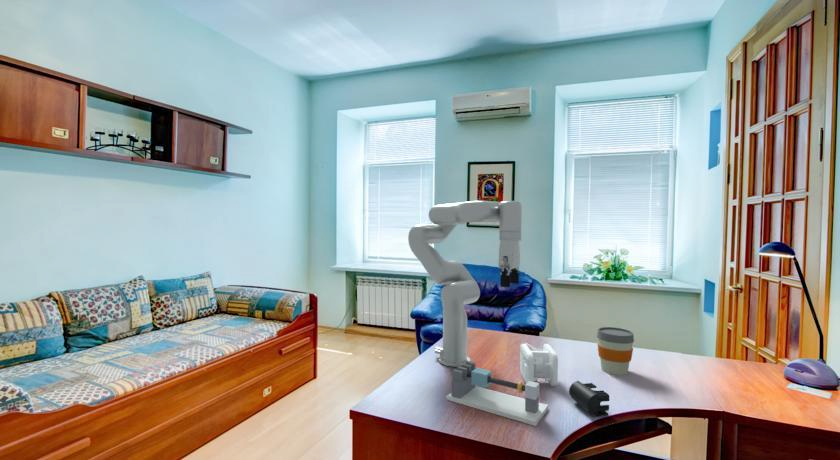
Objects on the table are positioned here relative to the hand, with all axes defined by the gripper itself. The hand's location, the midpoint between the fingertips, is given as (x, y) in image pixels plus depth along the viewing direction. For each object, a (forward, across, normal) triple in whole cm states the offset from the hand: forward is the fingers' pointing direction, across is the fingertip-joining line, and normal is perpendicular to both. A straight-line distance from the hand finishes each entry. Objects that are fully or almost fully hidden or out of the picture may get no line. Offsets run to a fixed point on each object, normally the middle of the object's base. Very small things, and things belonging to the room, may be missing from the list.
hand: (509, 285), depth 139 cm
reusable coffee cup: (+34, -31, +31) cm, 55 cm away
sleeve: (+29, +20, -2) cm, 35 cm away
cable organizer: (+34, -5, +9) cm, 35 cm away
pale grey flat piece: (+34, -33, -4) cm, 48 cm away
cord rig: (+34, +20, +2) cm, 39 cm away
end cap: (+34, +8, +27) cm, 44 cm away
